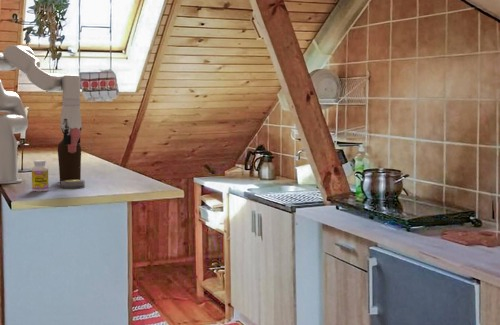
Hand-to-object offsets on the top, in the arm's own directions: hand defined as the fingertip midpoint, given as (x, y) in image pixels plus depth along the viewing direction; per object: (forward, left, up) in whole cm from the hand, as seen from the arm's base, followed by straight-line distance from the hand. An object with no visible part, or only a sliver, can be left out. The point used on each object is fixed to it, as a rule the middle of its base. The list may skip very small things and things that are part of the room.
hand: (72, 143), depth 284 cm
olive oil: (-10, +14, -19) cm, 26 cm away
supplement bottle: (-7, -14, -19) cm, 25 cm away
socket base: (0, 0, -19) cm, 19 cm away
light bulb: (0, 0, -4) cm, 4 cm away
